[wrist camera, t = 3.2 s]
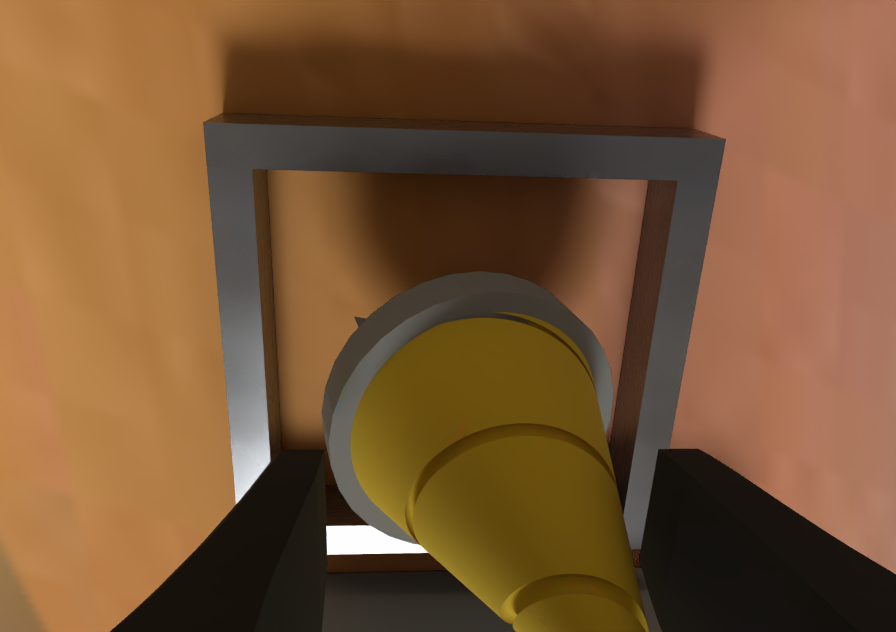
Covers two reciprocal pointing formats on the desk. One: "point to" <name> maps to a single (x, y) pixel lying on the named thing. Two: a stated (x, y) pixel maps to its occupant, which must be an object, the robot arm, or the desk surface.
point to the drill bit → (489, 448)
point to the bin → (419, 604)
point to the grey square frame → (461, 153)
